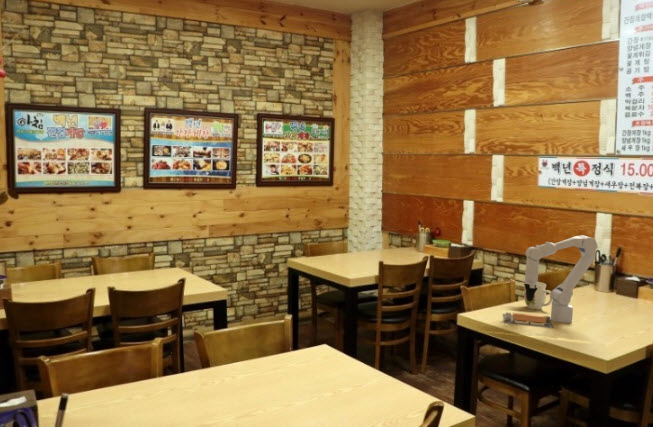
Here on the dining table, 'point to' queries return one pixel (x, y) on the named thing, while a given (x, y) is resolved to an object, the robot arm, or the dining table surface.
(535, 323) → the label
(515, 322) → the label
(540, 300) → the white floral mug
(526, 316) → the swing bar
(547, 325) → the board
